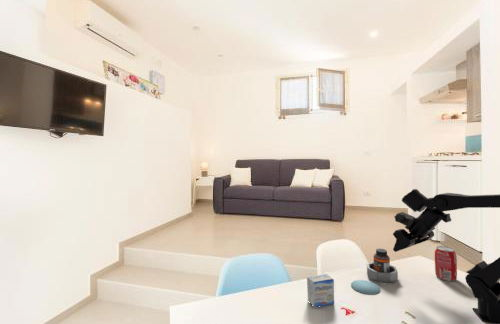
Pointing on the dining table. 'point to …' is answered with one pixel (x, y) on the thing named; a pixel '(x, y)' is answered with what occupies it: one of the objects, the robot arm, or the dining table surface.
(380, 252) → the supplement bottle
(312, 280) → the medicine box
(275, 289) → the dining table surface
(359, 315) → the dining table surface
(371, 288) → the teal mat
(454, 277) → the soda can
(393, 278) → the grey octagonal bowl
